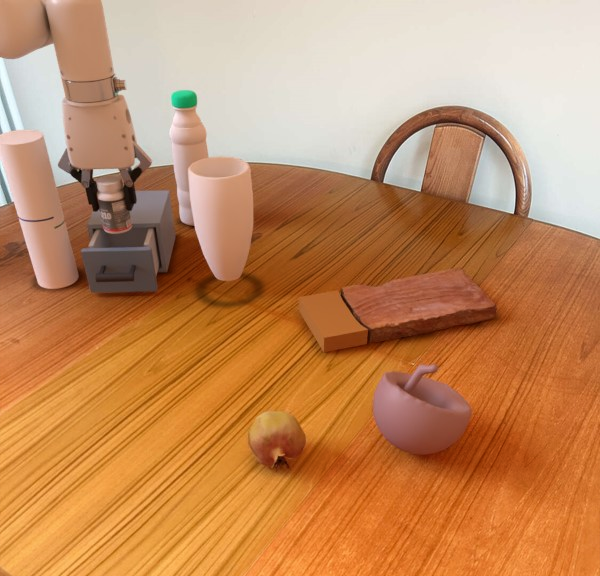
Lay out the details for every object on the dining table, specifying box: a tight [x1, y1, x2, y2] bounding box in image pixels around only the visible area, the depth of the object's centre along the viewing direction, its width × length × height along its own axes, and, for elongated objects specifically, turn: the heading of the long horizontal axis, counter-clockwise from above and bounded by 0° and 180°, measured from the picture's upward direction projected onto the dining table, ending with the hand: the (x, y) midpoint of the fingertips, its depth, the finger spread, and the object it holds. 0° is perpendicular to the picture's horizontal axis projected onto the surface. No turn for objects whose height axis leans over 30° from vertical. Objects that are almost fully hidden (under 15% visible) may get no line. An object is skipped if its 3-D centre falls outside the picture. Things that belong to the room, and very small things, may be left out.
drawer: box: [80, 227, 161, 294], centre depth 114 cm, size 18×11×8 cm, turn 2°
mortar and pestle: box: [372, 363, 472, 456], centre depth 81 cm, size 12×12×12 cm
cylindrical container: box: [0, 128, 80, 290], centre depth 110 cm, size 7×7×25 cm
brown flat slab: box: [298, 267, 498, 353], centre depth 107 cm, size 13×30×3 cm, turn 108°
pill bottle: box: [95, 174, 132, 234], centre depth 107 cm, size 5×5×8 cm
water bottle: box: [169, 89, 210, 227], centre depth 129 cm, size 7×7×25 cm
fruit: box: [247, 410, 307, 473], centre depth 81 cm, size 7×7×10 cm
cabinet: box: [86, 189, 177, 273], centre depth 122 cm, size 15×13×10 cm
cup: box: [188, 156, 254, 282], centre depth 108 cm, size 10×10×22 cm
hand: (113, 206), depth 108 cm, fingers closed on pill bottle, 4 cm apart
